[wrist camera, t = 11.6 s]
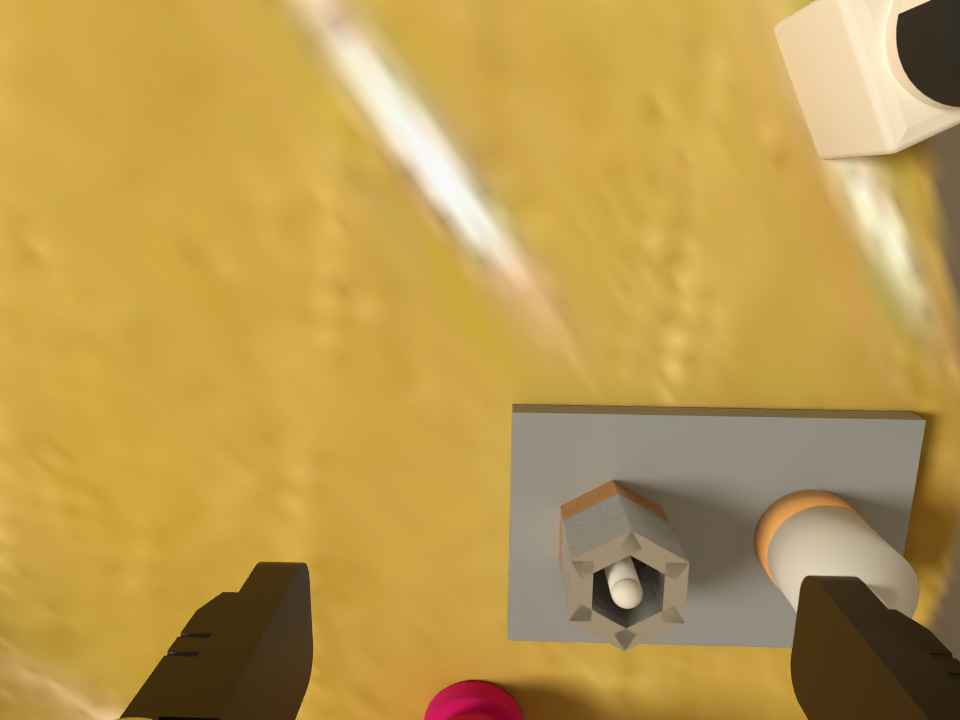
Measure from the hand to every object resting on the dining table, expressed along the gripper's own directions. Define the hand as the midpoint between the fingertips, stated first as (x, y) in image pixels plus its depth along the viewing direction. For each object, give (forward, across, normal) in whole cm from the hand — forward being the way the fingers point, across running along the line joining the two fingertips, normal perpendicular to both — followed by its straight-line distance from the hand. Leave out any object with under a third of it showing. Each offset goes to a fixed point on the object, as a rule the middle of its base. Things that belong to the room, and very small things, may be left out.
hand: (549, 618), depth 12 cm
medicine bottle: (+28, -17, -13) cm, 35 cm away
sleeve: (+26, -6, +12) cm, 30 cm away
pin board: (+28, -11, +12) cm, 32 cm away
